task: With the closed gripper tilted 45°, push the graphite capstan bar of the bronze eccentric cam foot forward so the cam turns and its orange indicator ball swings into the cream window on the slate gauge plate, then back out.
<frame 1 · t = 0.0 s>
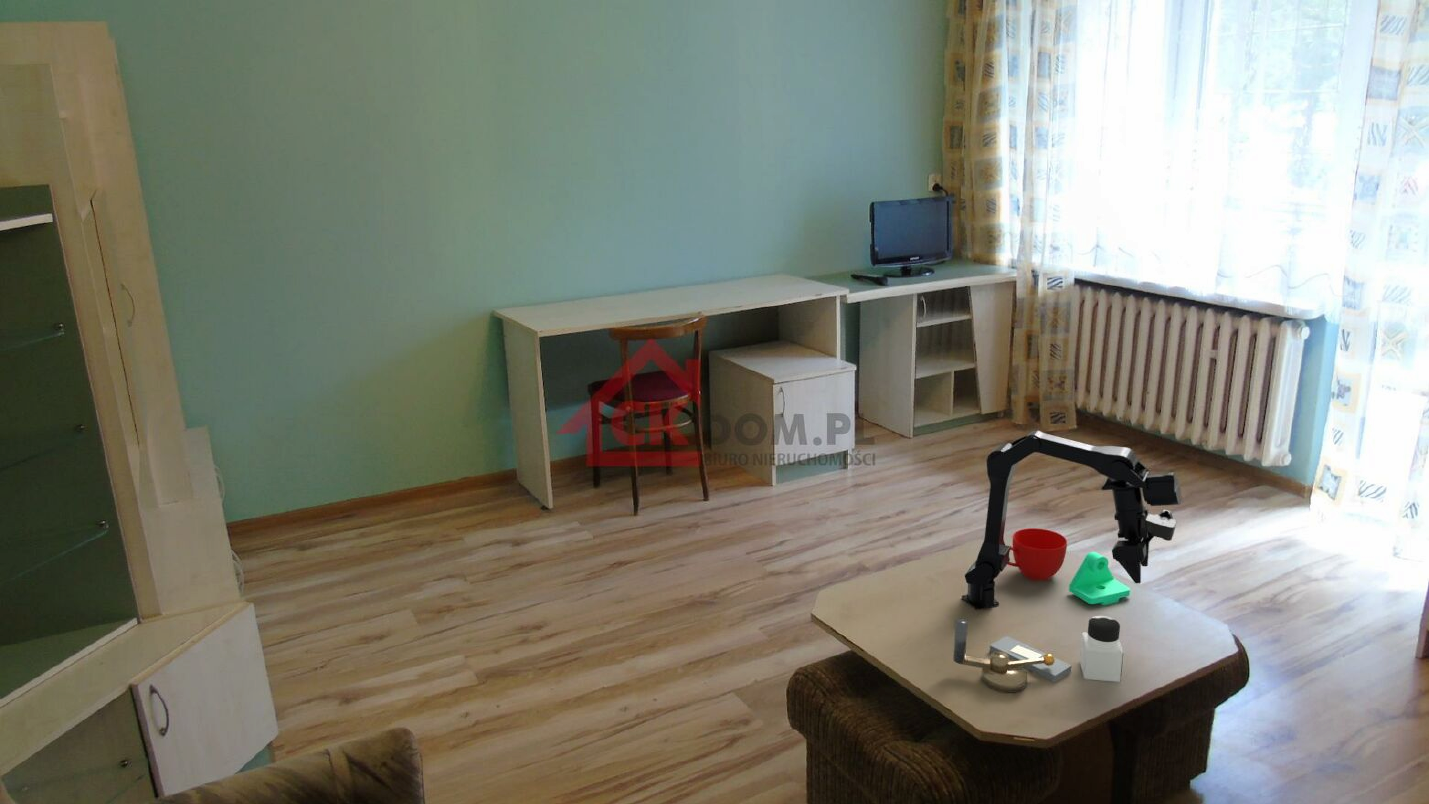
hand: (1141, 574, 216), 15 cm above the table, tool pointing down, fingers open, 9 cm apart
ceramic cup: (1029, 576, 250), on the table
medicine bottle: (1099, 672, 208), on the table
camera mount: (1099, 597, 239), on the table
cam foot: (1003, 651, 205), point 6 cm above the table, hinge at 0.0°
gauge plate: (1029, 661, 212), on the table
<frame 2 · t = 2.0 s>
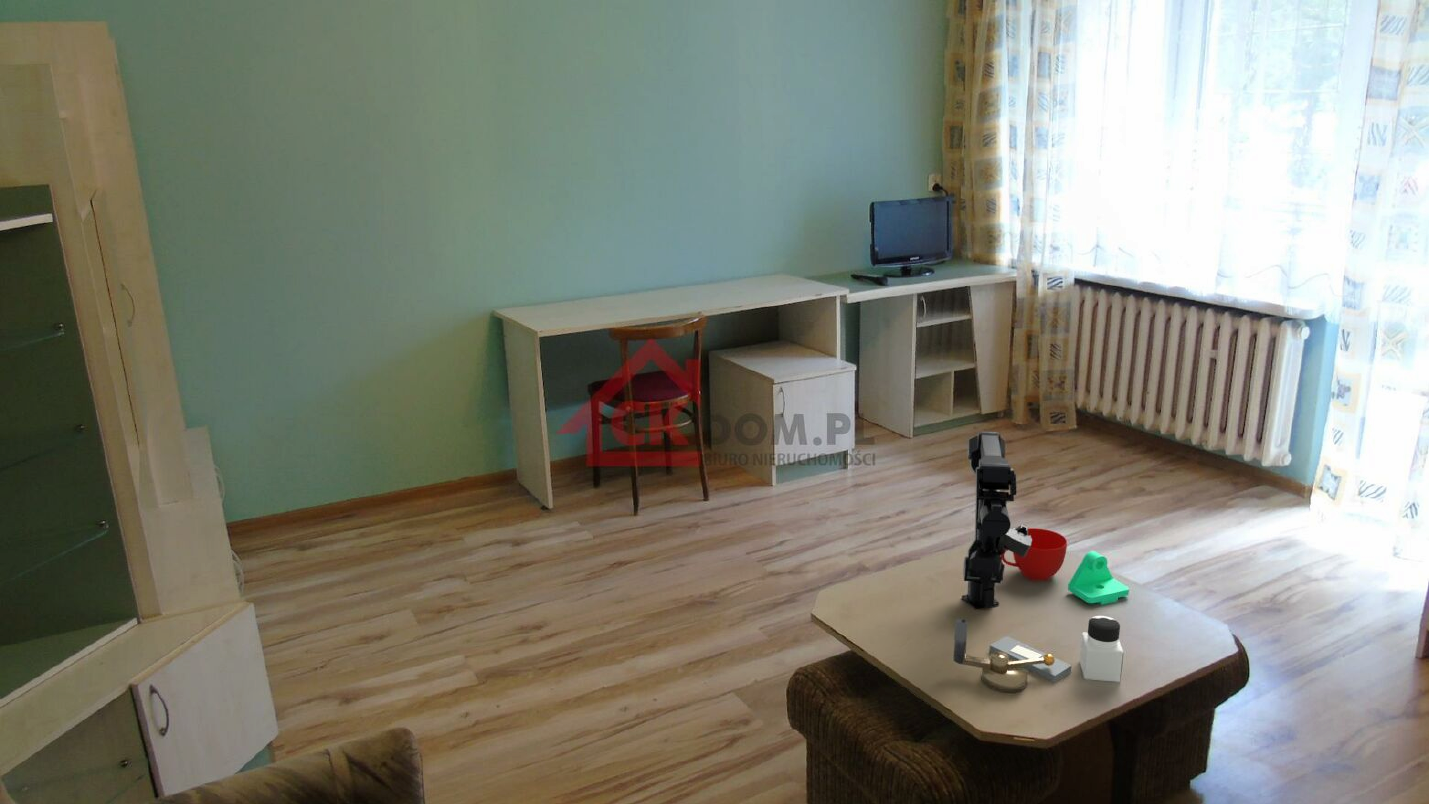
hand: (987, 583, 219), 13 cm above the table, tool pointing down, fingers open, 4 cm apart
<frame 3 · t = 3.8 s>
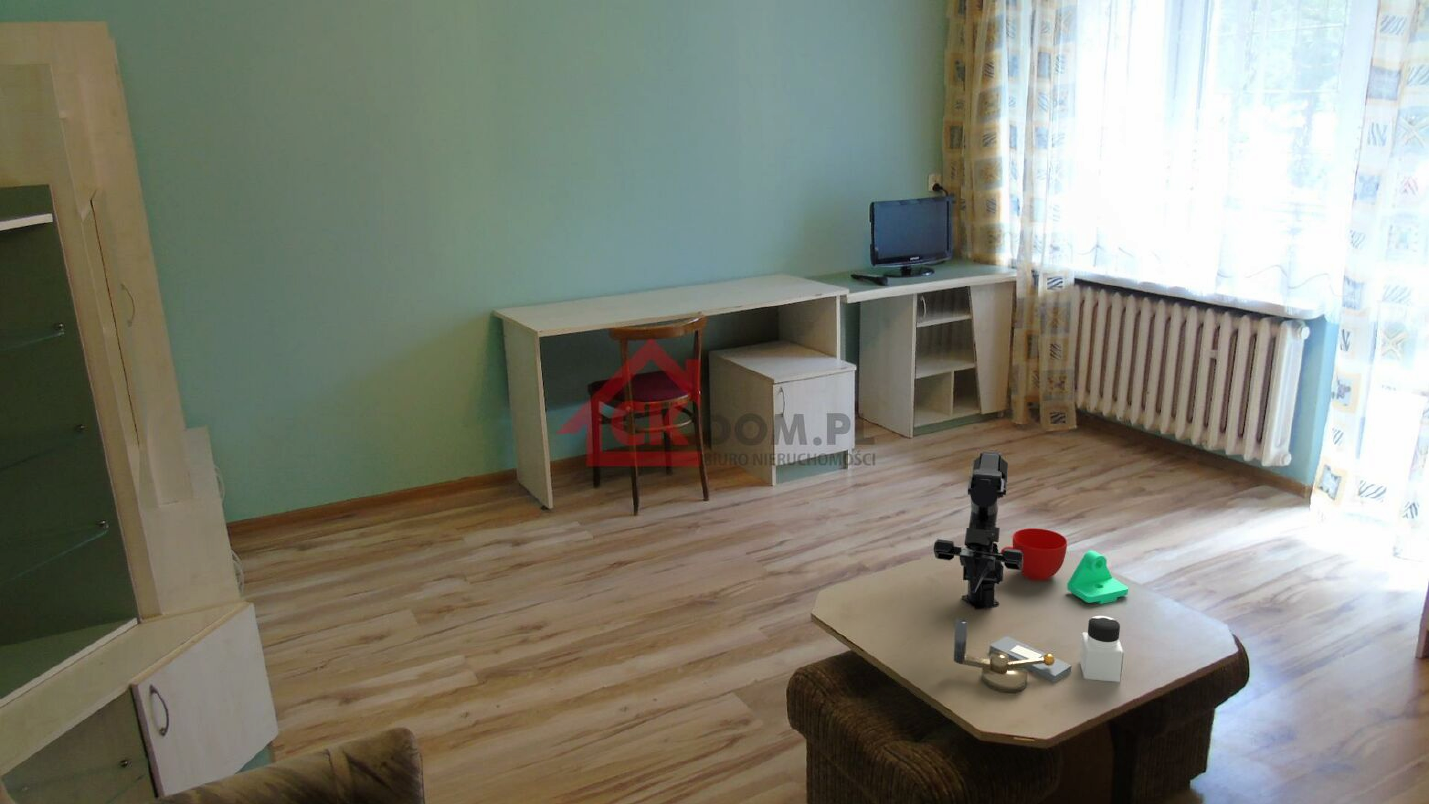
hand: (972, 591, 214), 14 cm above the table, tool tilted 45°, fingers closed
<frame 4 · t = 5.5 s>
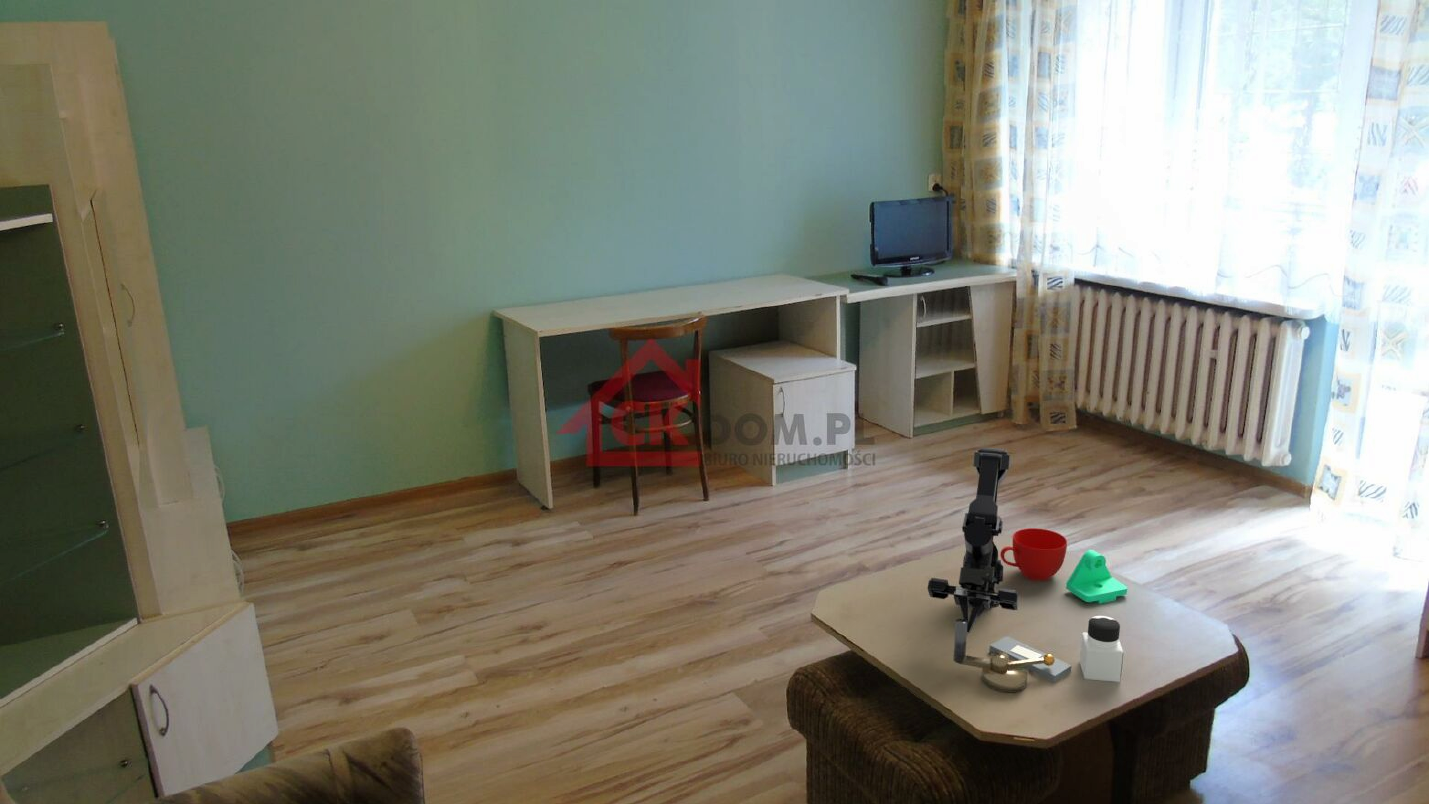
hand: (967, 632, 211), 7 cm above the table, tool tilted 45°, fingers closed
nothing on the table moved.
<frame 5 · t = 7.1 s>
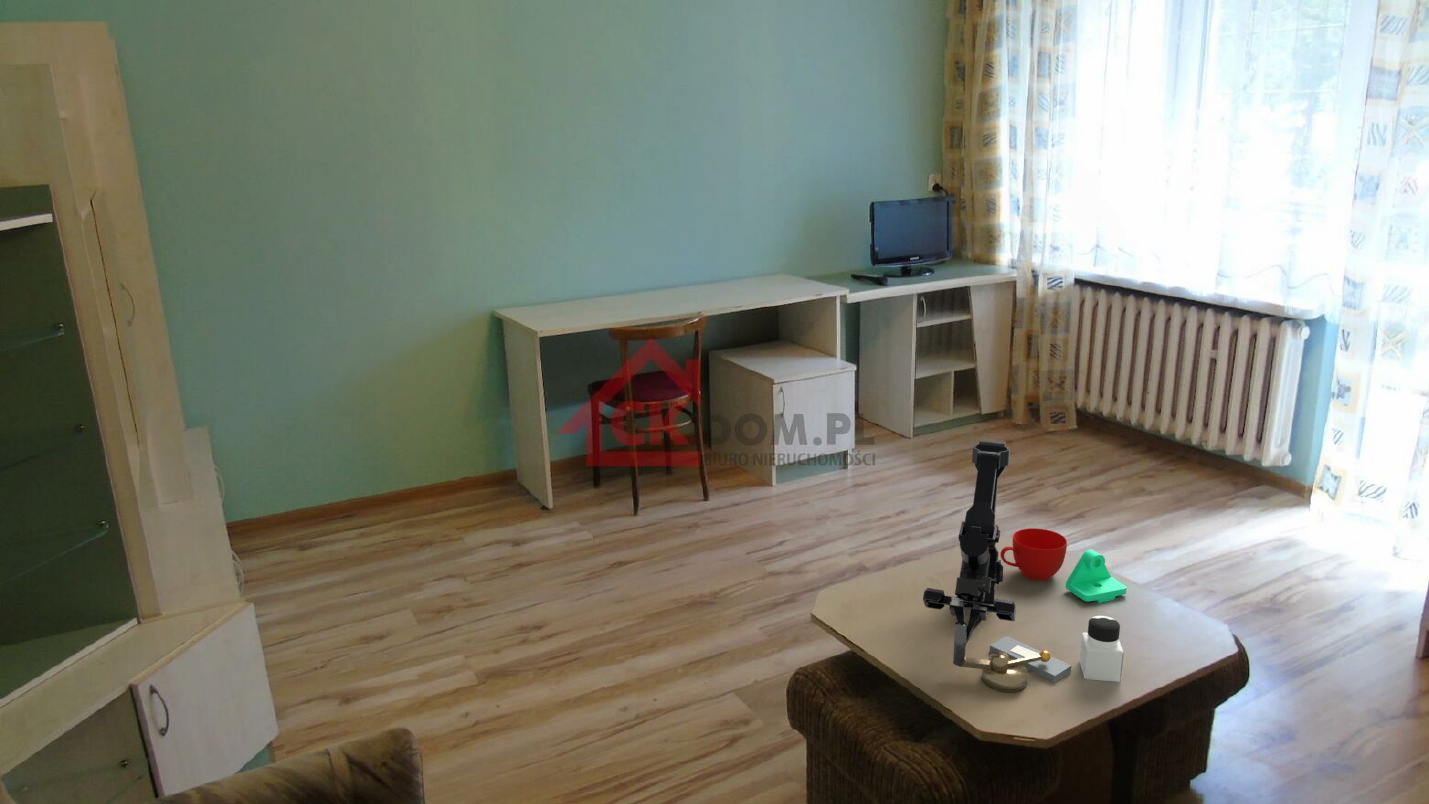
hand: (963, 643, 207), 7 cm above the table, tool tilted 45°, fingers closed
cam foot: (1002, 650, 205), point 6 cm above the table, hinge at 7.7°, touching gripper
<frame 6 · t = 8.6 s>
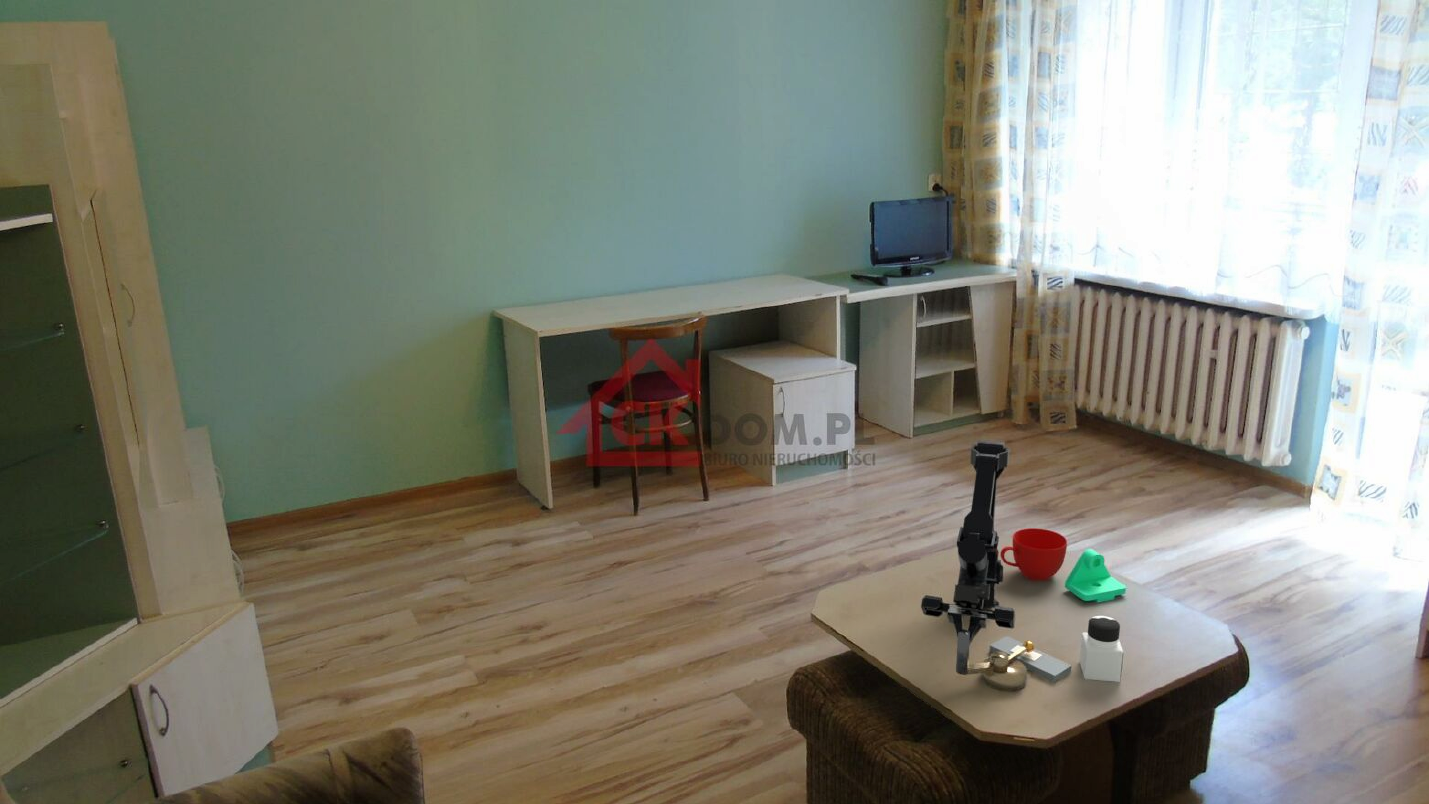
hand: (962, 651, 204), 7 cm above the table, tool tilted 45°, fingers closed, pressing on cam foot
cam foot: (1000, 650, 205), point 6 cm above the table, hinge at 31.0°, touching gripper
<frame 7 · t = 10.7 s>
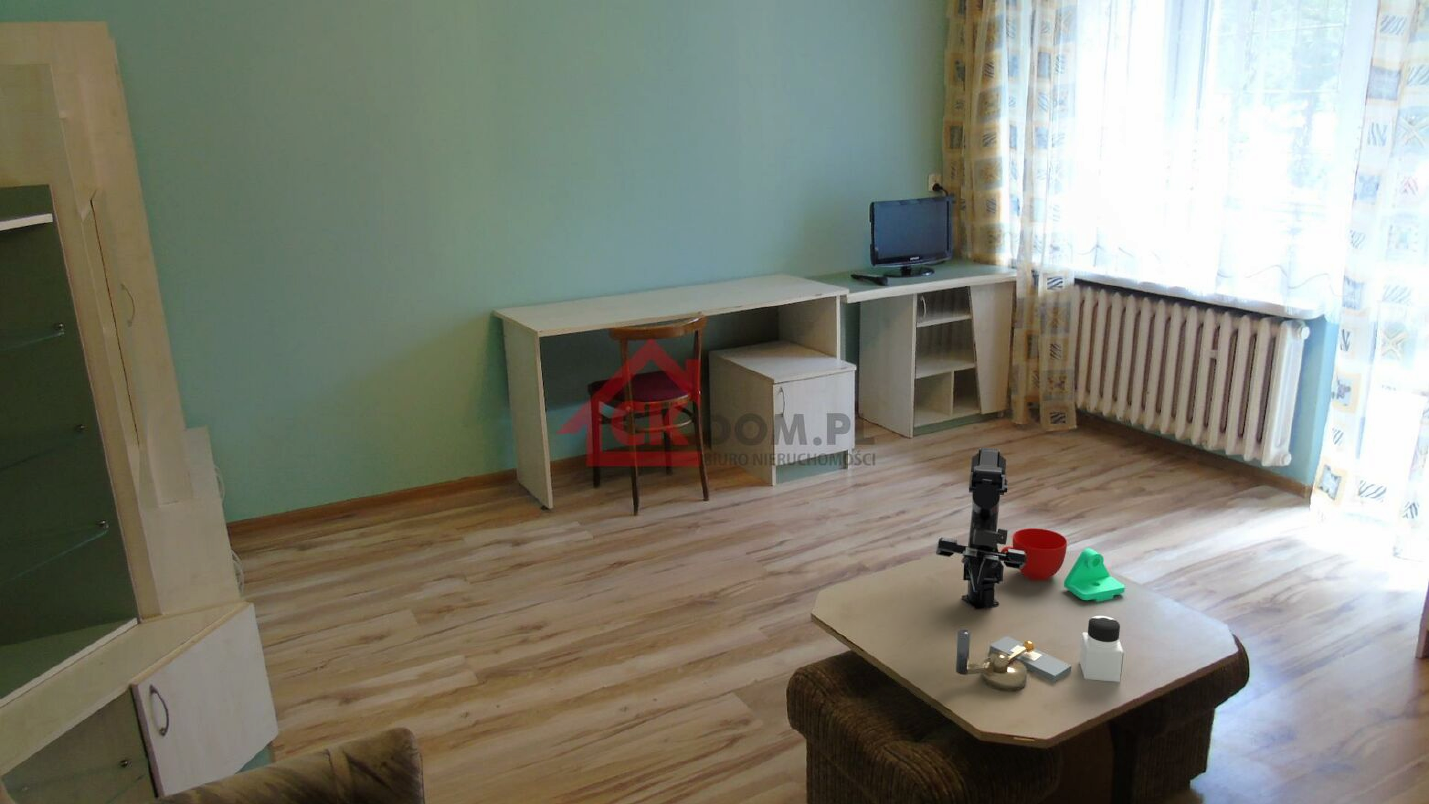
hand: (976, 591, 215), 13 cm above the table, tool tilted 40°, fingers closed
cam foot: (1000, 650, 205), point 6 cm above the table, hinge at 31.0°
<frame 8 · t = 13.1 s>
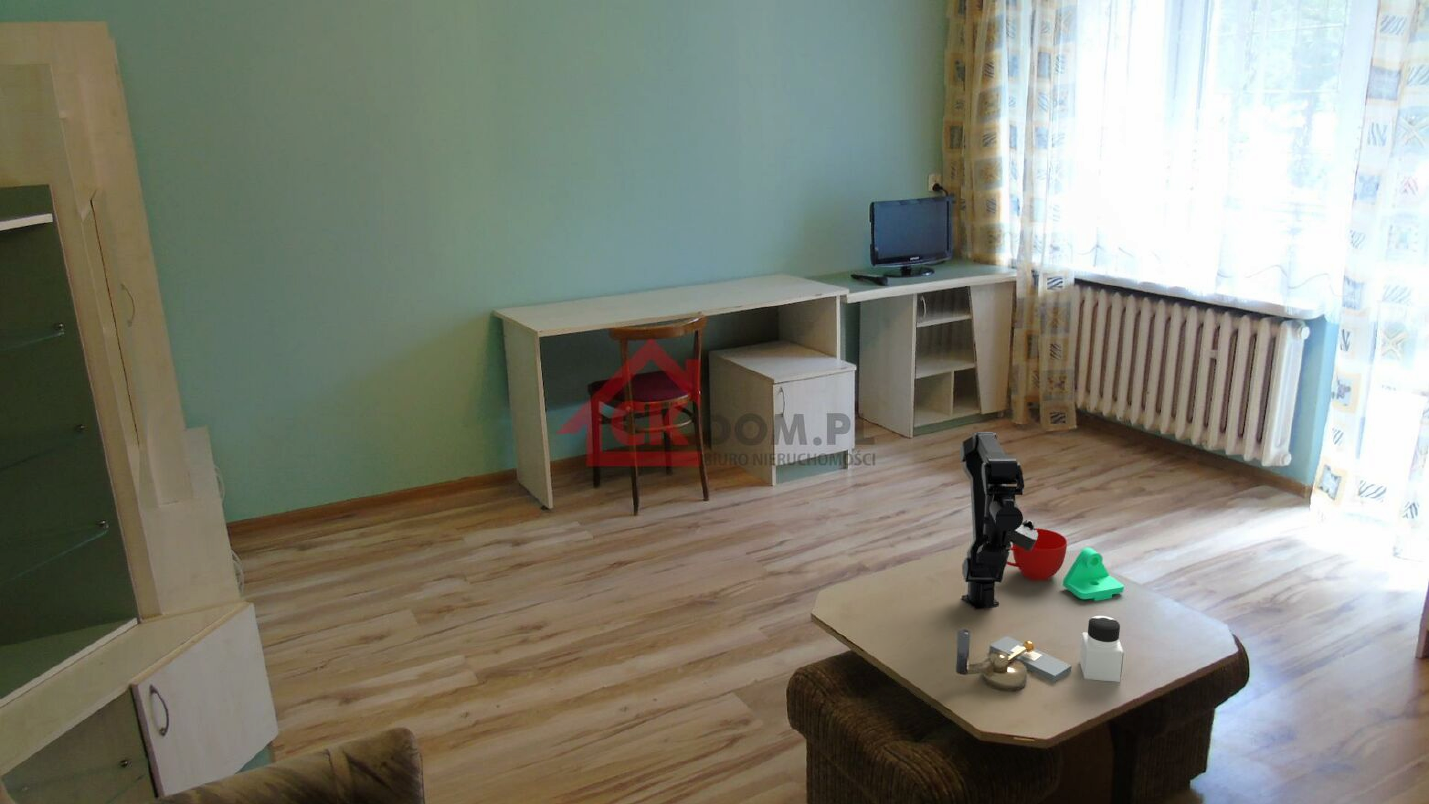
hand: (994, 577, 221), 13 cm above the table, tool pointing down, fingers closed
at the end: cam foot at +31° (first picture: +0°) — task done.
